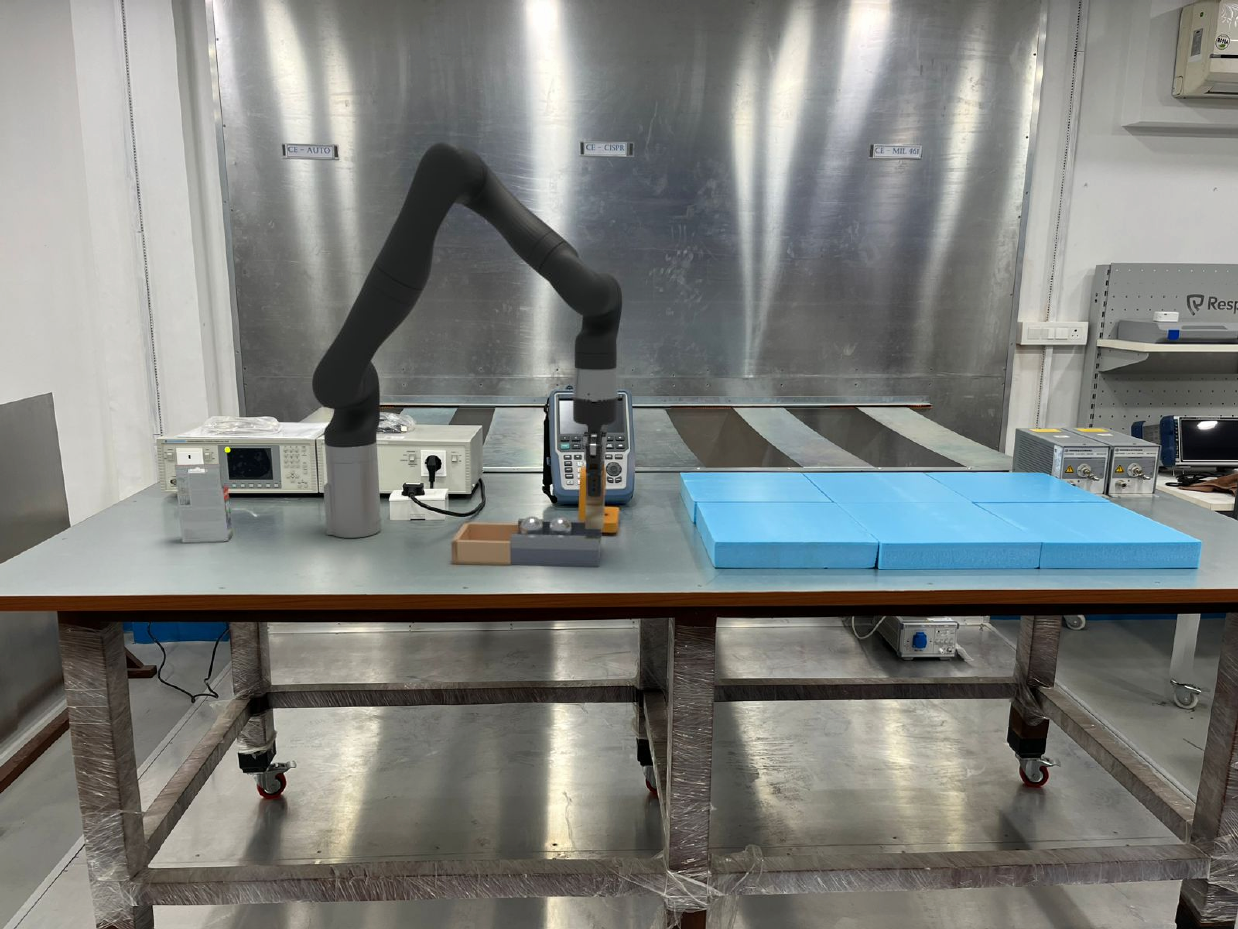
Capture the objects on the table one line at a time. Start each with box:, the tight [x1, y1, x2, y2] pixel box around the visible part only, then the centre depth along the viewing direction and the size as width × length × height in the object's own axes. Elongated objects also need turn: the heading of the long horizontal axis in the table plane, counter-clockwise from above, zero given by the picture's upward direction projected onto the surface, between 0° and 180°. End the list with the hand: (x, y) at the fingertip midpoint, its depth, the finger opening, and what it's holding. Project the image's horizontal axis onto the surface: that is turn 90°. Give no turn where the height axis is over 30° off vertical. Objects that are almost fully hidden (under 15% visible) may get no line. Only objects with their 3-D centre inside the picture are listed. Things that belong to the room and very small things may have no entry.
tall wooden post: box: [585, 448, 606, 529], centre depth 145 cm, size 3×6×14 cm, turn 178°
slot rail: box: [510, 518, 603, 568], centre depth 148 cm, size 15×10×5 cm
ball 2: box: [549, 516, 572, 535], centre depth 147 cm, size 4×4×4 cm
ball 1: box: [520, 516, 543, 535], centre depth 147 cm, size 4×4×4 cm
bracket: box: [577, 466, 620, 534], centre depth 164 cm, size 11×7×12 cm, turn 177°
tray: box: [450, 521, 518, 566], centre depth 148 cm, size 10×11×4 cm
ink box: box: [174, 463, 234, 544], centre depth 152 cm, size 4×8×15 cm, turn 100°
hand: (594, 492), depth 146 cm, fingers closed on tall wooden post, 3 cm apart
